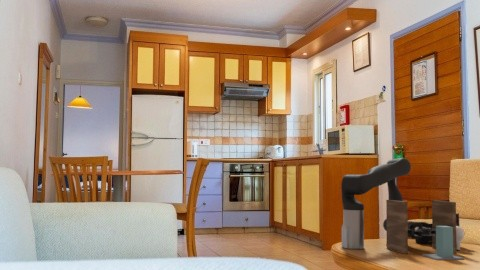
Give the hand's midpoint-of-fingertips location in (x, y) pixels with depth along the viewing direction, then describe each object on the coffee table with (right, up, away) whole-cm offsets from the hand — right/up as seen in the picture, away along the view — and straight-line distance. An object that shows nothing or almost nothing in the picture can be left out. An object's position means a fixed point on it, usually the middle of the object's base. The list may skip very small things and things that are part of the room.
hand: (431, 233), depth 217 cm
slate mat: (+1, -8, -10) cm, 13 cm away
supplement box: (+18, -11, +25) cm, 33 cm away
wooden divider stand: (-2, -9, +8) cm, 12 cm away
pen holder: (+10, -12, +36) cm, 39 cm away
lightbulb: (+16, -10, +11) cm, 22 cm away
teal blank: (+2, -7, -10) cm, 12 cm away
